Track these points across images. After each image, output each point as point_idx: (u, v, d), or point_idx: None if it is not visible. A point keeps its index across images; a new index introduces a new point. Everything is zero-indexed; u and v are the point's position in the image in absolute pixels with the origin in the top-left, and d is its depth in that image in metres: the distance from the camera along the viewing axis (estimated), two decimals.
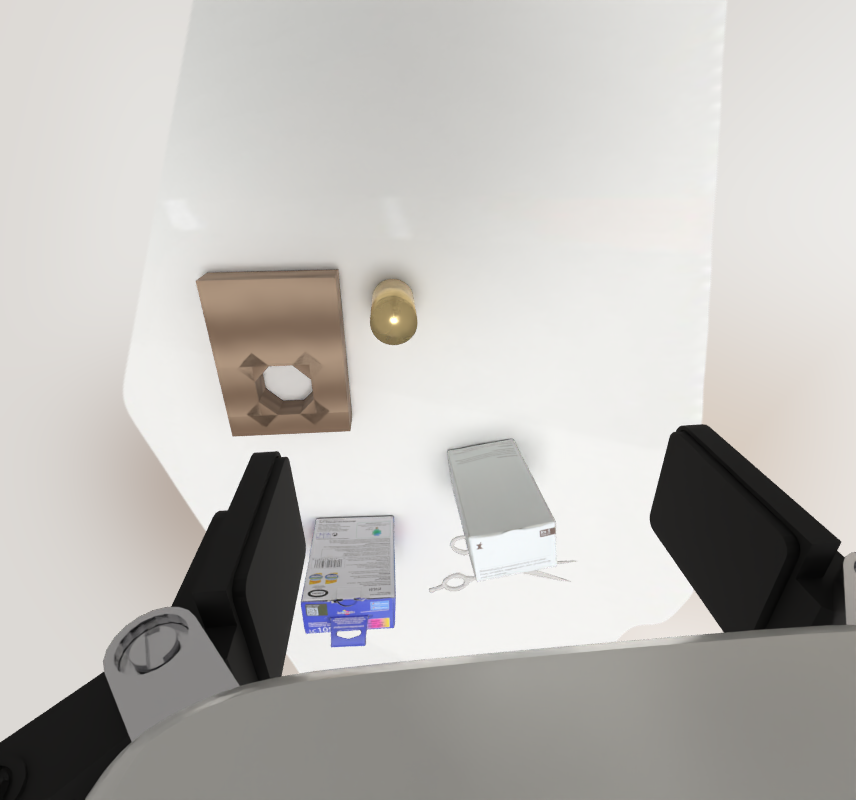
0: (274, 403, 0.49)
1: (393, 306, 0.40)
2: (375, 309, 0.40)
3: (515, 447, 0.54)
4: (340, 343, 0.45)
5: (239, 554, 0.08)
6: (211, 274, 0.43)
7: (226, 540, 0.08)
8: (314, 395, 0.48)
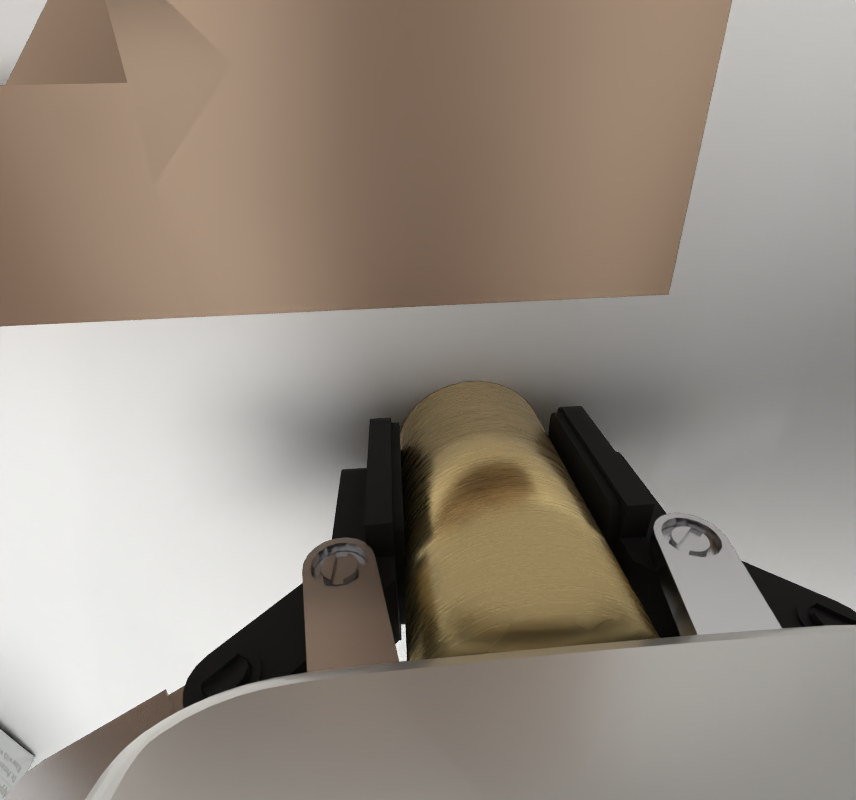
0: None
1: None
2: (637, 630, 0.07)
3: None
4: (313, 304, 0.08)
5: (392, 496, 0.09)
6: None
7: (376, 486, 0.09)
8: None
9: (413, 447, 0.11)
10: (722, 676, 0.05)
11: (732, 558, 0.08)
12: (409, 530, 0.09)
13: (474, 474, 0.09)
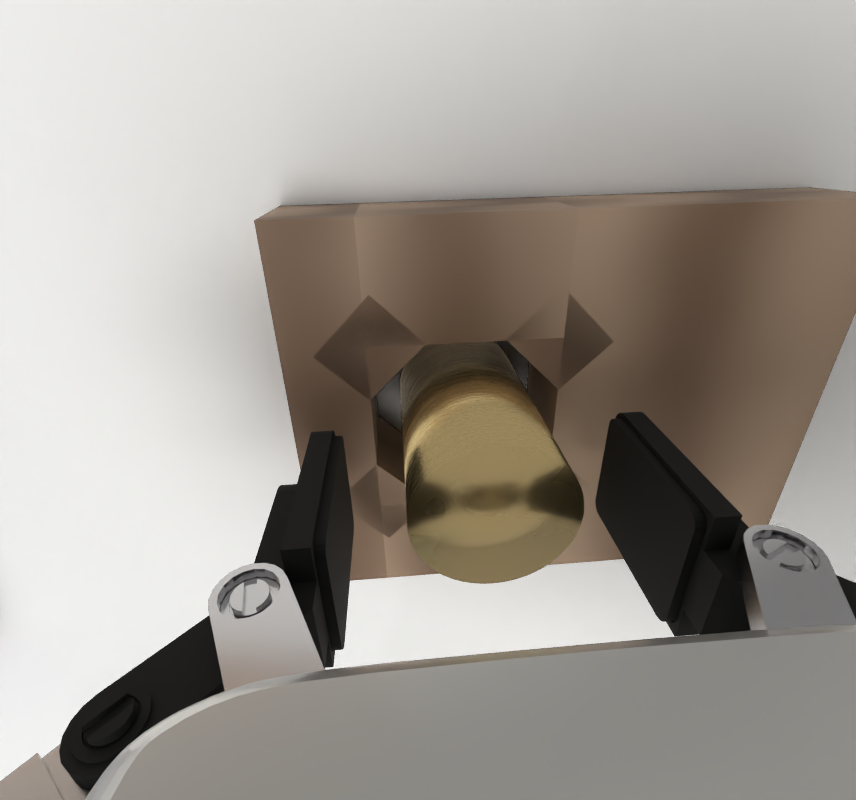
0: None
1: (558, 516, 0.11)
2: (555, 462, 0.10)
3: None
4: (593, 558, 0.17)
5: (316, 518, 0.09)
6: None
7: (301, 506, 0.09)
8: None
9: (411, 376, 0.15)
10: (722, 676, 0.05)
11: (828, 578, 0.07)
12: (408, 426, 0.13)
13: (454, 383, 0.13)
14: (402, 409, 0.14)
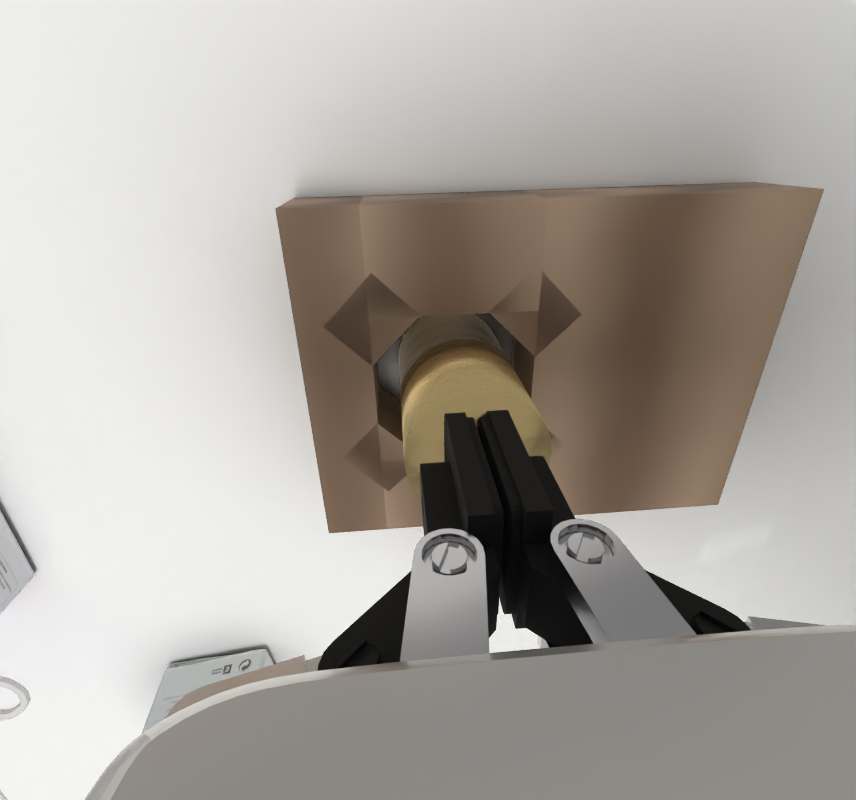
0: None
1: None
2: (526, 407, 0.12)
3: None
4: None
5: (488, 488, 0.09)
6: None
7: (469, 478, 0.09)
8: None
9: (408, 347, 0.17)
10: (722, 676, 0.05)
11: (626, 557, 0.08)
12: (405, 386, 0.15)
13: (444, 349, 0.15)
14: (400, 376, 0.17)
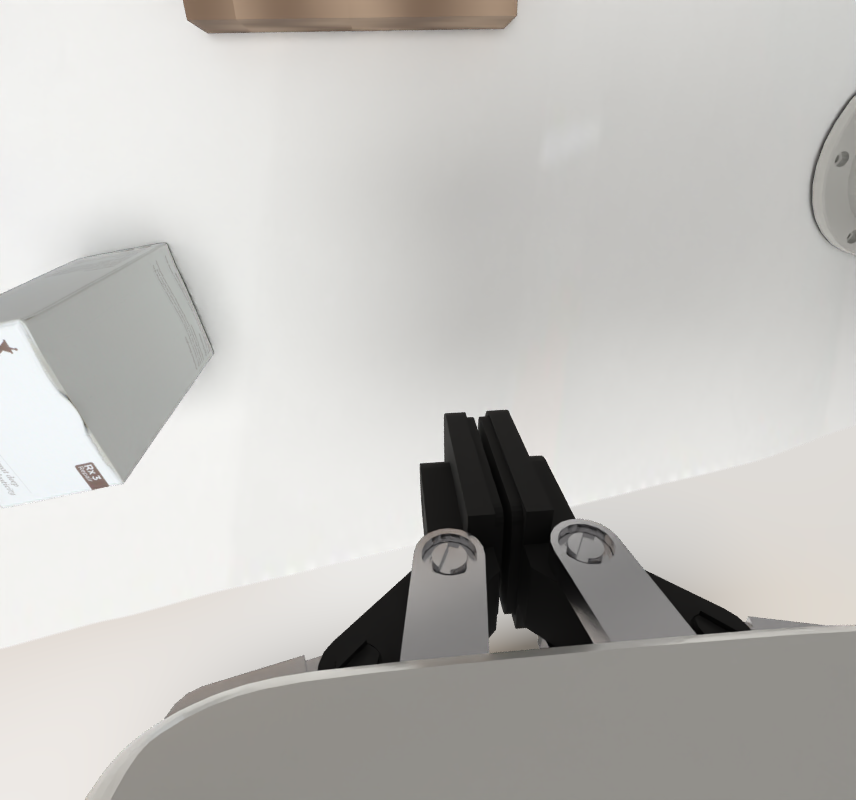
0: None
1: None
2: None
3: (205, 362, 0.32)
4: (391, 14, 0.23)
5: (487, 488, 0.09)
6: None
7: (469, 478, 0.09)
8: None
9: None
10: (722, 676, 0.05)
11: (626, 557, 0.08)
12: None
13: None
14: None
